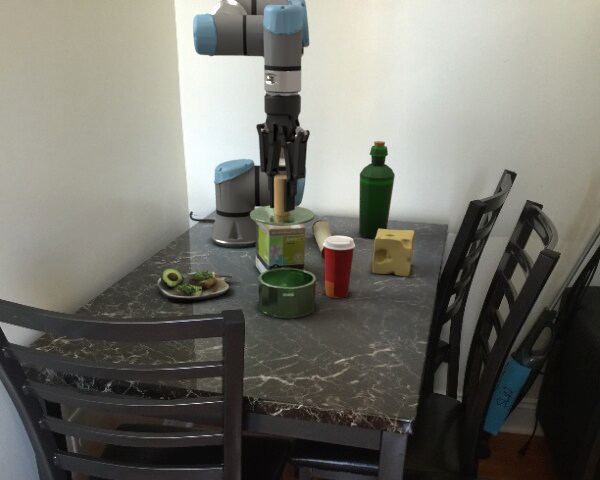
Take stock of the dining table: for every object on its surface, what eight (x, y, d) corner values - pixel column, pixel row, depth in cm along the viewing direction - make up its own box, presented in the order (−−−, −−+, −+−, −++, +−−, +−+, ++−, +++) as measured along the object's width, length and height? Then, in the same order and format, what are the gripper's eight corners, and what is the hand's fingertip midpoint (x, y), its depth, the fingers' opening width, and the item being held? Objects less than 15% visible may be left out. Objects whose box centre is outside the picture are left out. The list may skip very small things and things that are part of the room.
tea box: (305, 282, 170) (306, 226, 163) (268, 285, 168) (267, 229, 160) (289, 263, 183) (290, 210, 175) (254, 266, 180) (253, 213, 172)
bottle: (394, 233, 209) (403, 141, 195) (380, 242, 201) (388, 146, 187) (365, 228, 214) (371, 137, 199) (349, 236, 206) (355, 142, 192)
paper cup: (355, 291, 166) (358, 237, 159) (347, 301, 160) (350, 246, 152) (326, 286, 168) (328, 233, 161) (317, 297, 162) (318, 242, 154)
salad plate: (222, 272, 176) (221, 255, 173) (245, 295, 162) (245, 277, 160) (151, 281, 169) (149, 264, 166) (169, 306, 155) (168, 288, 152)
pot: (258, 323, 148) (258, 292, 144) (259, 292, 164) (258, 264, 160) (317, 323, 148) (318, 292, 144) (312, 292, 164) (313, 264, 160)
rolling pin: (310, 232, 209) (311, 216, 206) (328, 232, 209) (328, 216, 207) (321, 266, 181) (322, 248, 179) (341, 266, 182) (342, 248, 179)
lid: (249, 228, 139) (248, 184, 134) (250, 209, 152) (249, 169, 147) (316, 228, 140) (317, 185, 135) (312, 210, 152) (313, 169, 147)
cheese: (409, 277, 175) (413, 241, 170) (369, 273, 177) (372, 237, 172) (411, 264, 184) (415, 229, 179) (373, 261, 186) (376, 226, 180)
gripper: (241, 90, 135) (244, 204, 147) (300, 98, 125) (298, 219, 137) (266, 88, 139) (267, 198, 152) (325, 95, 130) (321, 212, 142)
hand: (282, 208), depth 145 cm, fingers closed on lid, 4 cm apart
